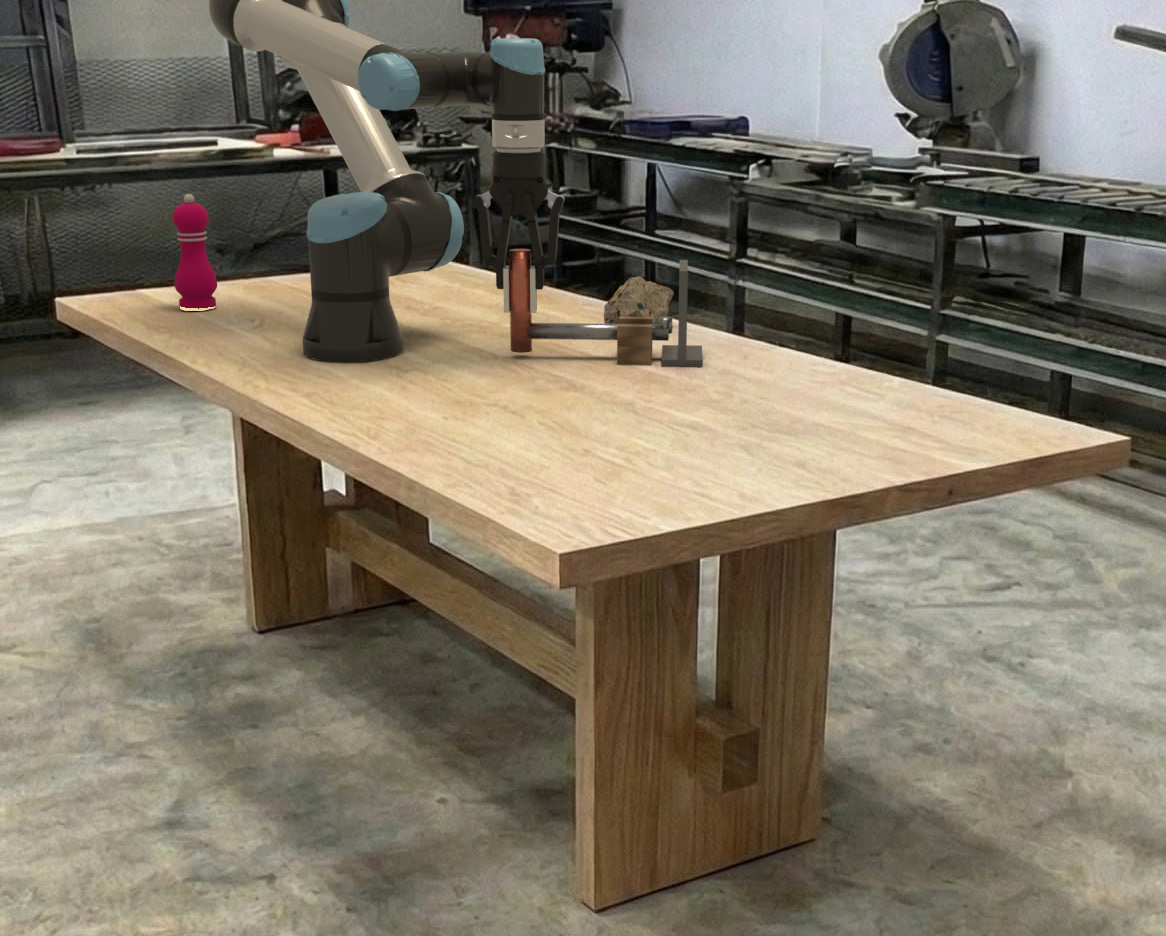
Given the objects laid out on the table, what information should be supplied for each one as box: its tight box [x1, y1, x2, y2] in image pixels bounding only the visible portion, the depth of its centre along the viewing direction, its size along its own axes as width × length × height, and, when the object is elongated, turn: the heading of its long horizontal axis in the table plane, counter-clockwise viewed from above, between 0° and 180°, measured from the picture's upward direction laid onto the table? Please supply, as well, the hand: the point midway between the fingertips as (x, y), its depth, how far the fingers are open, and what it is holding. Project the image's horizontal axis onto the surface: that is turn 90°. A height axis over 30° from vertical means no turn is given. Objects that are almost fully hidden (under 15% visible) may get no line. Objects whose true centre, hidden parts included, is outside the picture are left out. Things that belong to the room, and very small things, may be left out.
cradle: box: [616, 316, 653, 366], centre depth 214 cm, size 5×8×6 cm, turn 176°
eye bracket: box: [660, 259, 704, 368], centre depth 212 cm, size 6×10×14 cm, turn 176°
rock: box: [603, 275, 675, 324], centre depth 233 cm, size 12×7×10 cm, turn 121°
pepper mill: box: [172, 193, 218, 309], centre depth 250 cm, size 7×7×20 cm
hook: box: [508, 248, 673, 354], centre depth 213 cm, size 24×3×15 cm, turn 86°
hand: (520, 310), depth 214 cm, fingers closed on hook, 3 cm apart
